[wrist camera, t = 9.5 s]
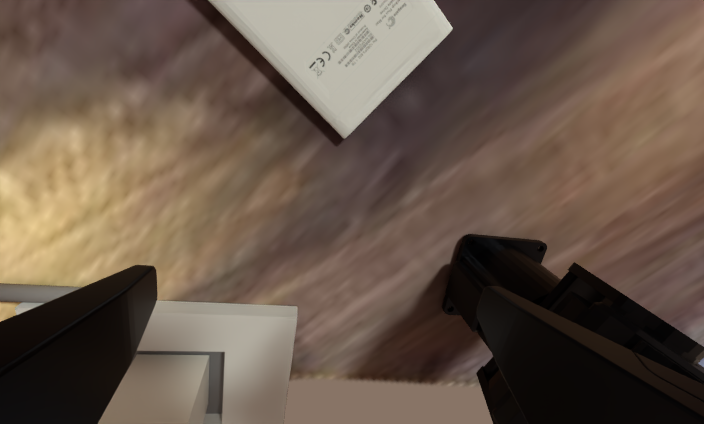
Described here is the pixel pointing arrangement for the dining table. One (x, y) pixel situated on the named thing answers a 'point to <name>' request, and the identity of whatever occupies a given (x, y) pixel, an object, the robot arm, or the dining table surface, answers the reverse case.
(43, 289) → the grey bar
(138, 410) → the charger brick
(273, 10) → the external hard drive
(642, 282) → the dining table surface
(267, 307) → the outlet plate
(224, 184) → the dining table surface
